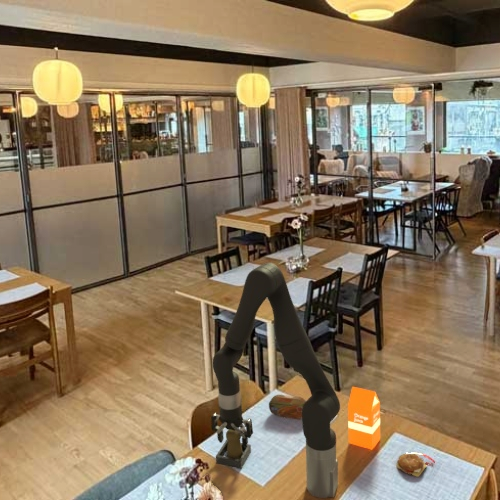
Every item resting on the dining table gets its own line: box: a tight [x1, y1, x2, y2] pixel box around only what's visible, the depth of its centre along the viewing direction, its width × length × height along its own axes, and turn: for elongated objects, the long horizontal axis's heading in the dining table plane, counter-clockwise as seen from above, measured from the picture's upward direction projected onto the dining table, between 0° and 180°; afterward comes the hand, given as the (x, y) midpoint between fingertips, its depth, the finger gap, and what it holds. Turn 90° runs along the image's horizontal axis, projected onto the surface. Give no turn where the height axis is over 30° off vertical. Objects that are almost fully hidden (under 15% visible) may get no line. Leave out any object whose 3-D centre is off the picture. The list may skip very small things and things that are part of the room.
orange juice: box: [347, 386, 381, 451], centre depth 191 cm, size 8×9×20 cm
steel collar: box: [215, 439, 252, 470], centre depth 187 cm, size 9×9×3 cm
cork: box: [225, 429, 244, 460], centre depth 186 cm, size 6×6×11 cm
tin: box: [268, 394, 307, 420], centre depth 208 cm, size 15×3×8 cm, turn 73°
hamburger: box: [396, 451, 436, 478], centre depth 179 cm, size 14×14×6 cm
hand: (233, 443), depth 186 cm, fingers open, 8 cm apart
